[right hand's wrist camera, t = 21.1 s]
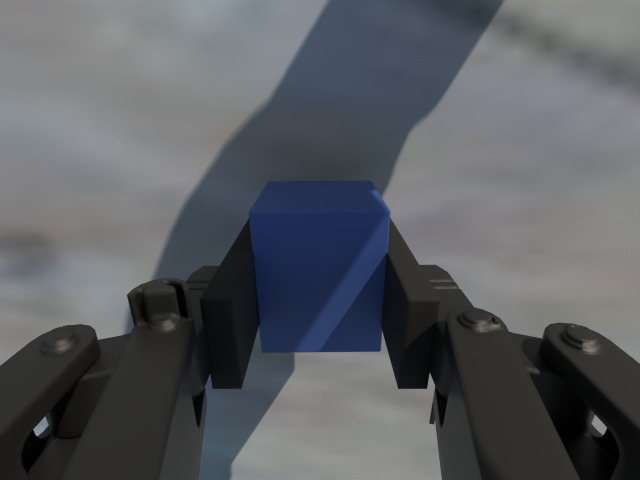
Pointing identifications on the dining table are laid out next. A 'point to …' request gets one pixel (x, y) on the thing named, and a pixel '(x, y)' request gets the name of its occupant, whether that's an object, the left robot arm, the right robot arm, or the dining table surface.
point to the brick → (320, 265)
